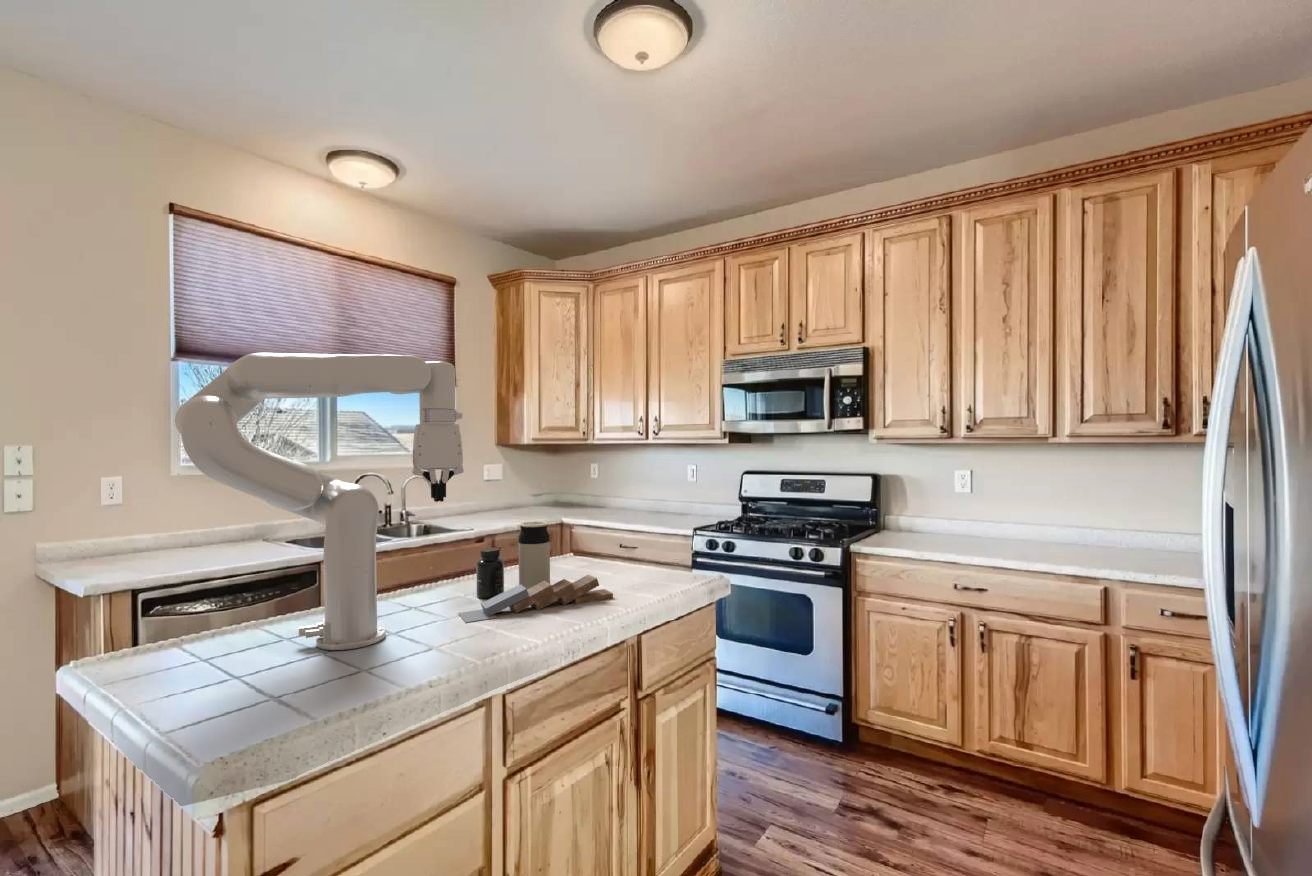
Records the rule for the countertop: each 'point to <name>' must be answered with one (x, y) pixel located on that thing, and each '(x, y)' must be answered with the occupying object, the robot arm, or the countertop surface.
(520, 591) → the domino
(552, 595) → the domino
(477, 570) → the supplement bottle
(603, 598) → the domino
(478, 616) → the pad
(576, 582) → the domino
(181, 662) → the countertop surface
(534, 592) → the domino
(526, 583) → the travel mug
